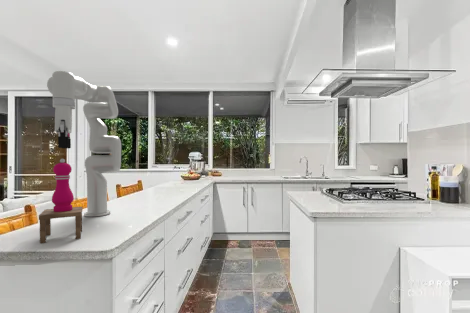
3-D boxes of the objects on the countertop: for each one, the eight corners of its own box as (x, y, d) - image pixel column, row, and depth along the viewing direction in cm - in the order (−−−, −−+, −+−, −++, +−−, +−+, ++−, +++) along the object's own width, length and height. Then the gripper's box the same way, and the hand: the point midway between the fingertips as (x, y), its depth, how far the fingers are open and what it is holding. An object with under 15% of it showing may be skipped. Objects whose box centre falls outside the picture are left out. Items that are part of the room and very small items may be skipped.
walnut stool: (45, 234, 111) (45, 209, 111) (82, 230, 116) (82, 206, 117) (39, 243, 99) (38, 215, 99) (81, 238, 105) (80, 211, 105)
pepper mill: (64, 212, 104) (63, 158, 104) (47, 212, 105) (46, 158, 105) (78, 208, 111) (77, 158, 111) (62, 208, 112) (61, 158, 112)
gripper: (55, 107, 116) (56, 148, 116) (49, 99, 100) (49, 147, 100) (76, 108, 119) (77, 148, 119) (73, 101, 103) (74, 147, 104)
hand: (64, 148), depth 110 cm, fingers open, 9 cm apart
